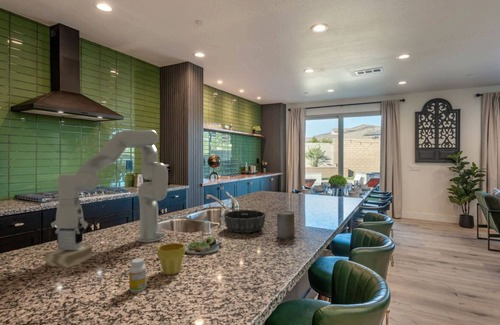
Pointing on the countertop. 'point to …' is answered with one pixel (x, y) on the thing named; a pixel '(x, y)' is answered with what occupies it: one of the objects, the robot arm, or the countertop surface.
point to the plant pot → (171, 257)
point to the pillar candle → (285, 224)
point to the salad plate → (203, 246)
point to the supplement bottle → (137, 275)
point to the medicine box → (68, 240)
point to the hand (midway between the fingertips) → (69, 241)
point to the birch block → (68, 257)
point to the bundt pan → (244, 220)
